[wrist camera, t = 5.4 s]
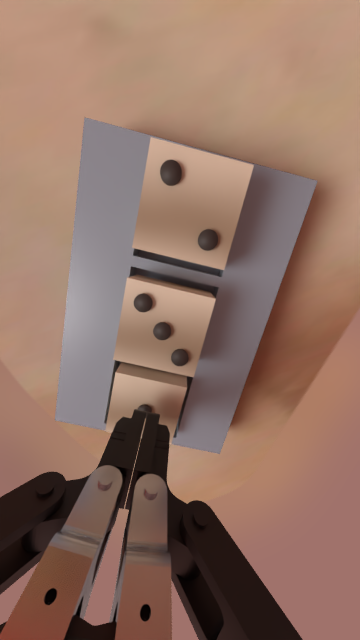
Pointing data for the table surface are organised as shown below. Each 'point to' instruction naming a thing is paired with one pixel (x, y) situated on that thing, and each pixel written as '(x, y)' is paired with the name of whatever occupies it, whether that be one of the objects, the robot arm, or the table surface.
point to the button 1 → (146, 395)
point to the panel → (124, 261)
